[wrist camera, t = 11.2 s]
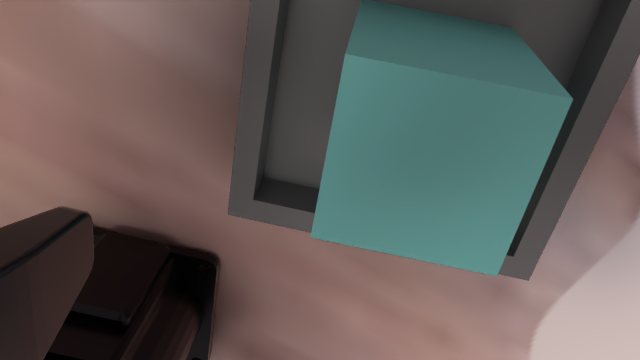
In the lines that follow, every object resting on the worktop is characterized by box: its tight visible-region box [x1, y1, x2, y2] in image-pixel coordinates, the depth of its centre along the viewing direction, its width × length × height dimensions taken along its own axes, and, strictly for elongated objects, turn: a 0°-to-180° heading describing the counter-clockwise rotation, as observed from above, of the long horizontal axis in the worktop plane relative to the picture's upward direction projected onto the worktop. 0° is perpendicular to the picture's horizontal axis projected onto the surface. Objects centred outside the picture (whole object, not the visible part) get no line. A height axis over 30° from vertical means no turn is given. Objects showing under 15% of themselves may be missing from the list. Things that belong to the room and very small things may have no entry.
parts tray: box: [228, 0, 640, 281], centre depth 16 cm, size 10×10×2 cm
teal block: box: [310, 0, 573, 276], centre depth 14 cm, size 4×4×6 cm
